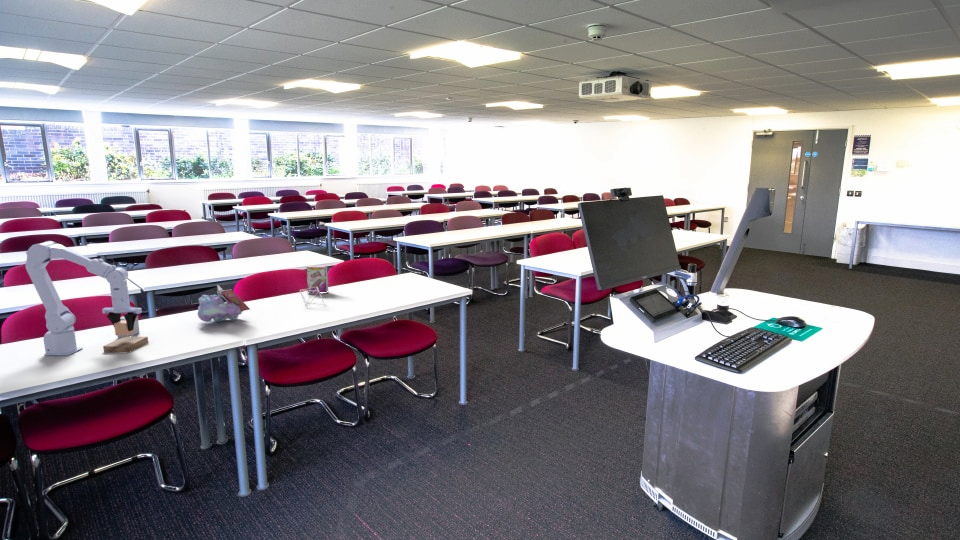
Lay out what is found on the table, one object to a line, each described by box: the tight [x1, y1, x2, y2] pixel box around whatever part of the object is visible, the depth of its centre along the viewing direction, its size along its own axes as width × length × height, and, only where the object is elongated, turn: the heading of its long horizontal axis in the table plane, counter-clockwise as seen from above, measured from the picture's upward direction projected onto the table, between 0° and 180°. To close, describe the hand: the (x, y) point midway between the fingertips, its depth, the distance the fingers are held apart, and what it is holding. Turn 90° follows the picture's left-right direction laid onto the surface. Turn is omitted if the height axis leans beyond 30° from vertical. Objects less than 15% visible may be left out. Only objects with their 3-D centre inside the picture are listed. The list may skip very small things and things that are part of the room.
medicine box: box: [116, 314, 140, 339], centre depth 222 cm, size 8×4×9 cm, turn 178°
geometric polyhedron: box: [299, 287, 325, 308], centre depth 275 cm, size 12×11×9 cm
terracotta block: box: [113, 320, 134, 336], centre depth 206 cm, size 4×4×5 cm
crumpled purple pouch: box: [197, 284, 251, 323], centre depth 242 cm, size 20×22×18 cm
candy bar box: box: [306, 265, 329, 293], centre depth 301 cm, size 11×5×16 cm, turn 93°
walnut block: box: [102, 336, 149, 353], centre depth 208 cm, size 10×12×3 cm
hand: (124, 330), depth 207 cm, fingers closed on terracotta block, 4 cm apart
